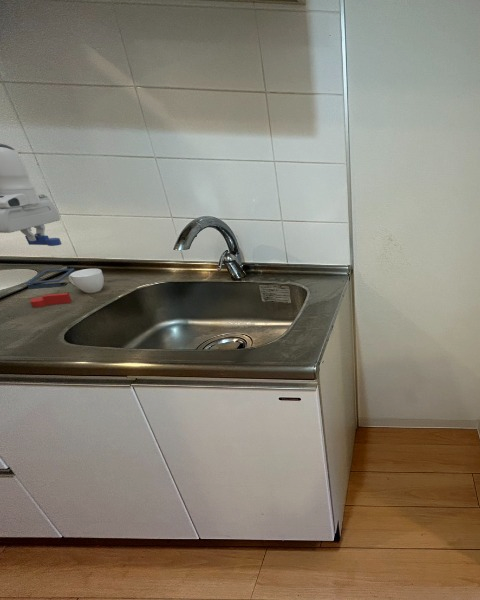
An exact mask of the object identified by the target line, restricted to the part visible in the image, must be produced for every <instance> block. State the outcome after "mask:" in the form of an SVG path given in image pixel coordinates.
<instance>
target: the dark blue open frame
mask: <svg viewBox="0 0 480 600" xmlns="http://www.w3.org/2000/svg"><path fill="white" fill-rule="evenodd" d="M55 272H56V273H57V272H66V273H64V274H63V275H61V276H60V277H59V278H58V279H49V280H38V281H36V280H37V279H38V278H39V279H40V277H42V276H43V275H44V274H46V273H55ZM73 272H75V268H61V269H45V270H43V271H41V272H40V273H38V274H36V275H35V276H34V277H32V278H31V279H29V280H27V281H26V282H25V284H26V285H27V288H28V290H41V289H50V288H62V287H63V286H64V285H65V284H67V283H68V282H67V281H63V282H61V281H62V280H64V279H65V278H66V277H67V276H69V275H70V274H71V273H73Z"/></svg>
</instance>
